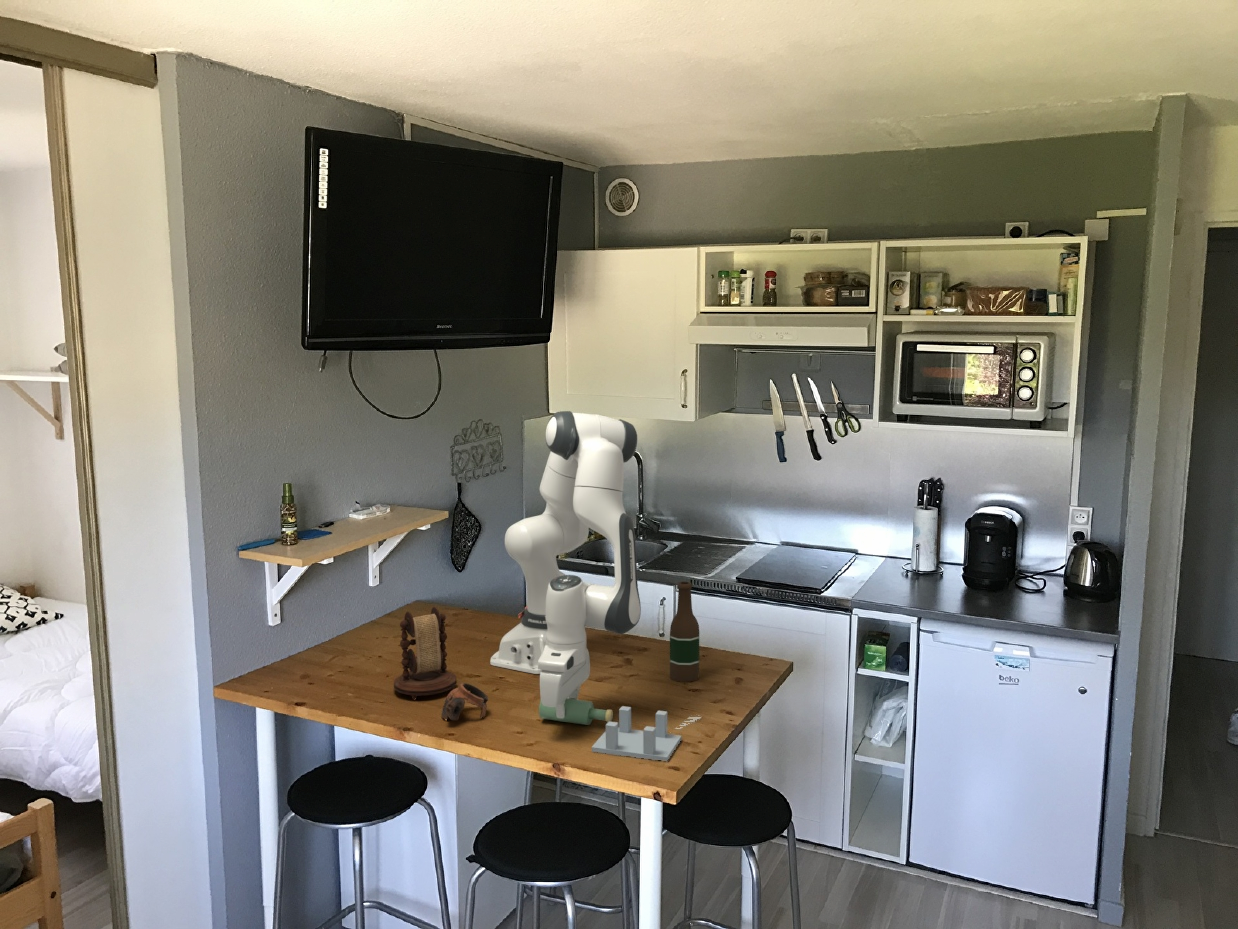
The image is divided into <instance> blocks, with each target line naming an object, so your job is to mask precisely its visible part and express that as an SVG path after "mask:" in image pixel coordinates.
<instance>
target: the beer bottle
mask: <svg viewBox="0 0 1238 929" xmlns="http://www.w3.org/2000/svg"><path fill="white" fill-rule="evenodd" d="M692 588H693V585H692V582H690V581H685V580H684V581H683V580H682V581H679V582H678V584H677V589H678V594H677V610H676V614H675V615H674V617H673V618H672V619H671V620H672V621H671V623H670V629H669V630H670V631H669V678H670V679H671V680H673V681H675V682H677V683H691V681H692V682H695V681H698V680H699V678H700V626H699V622H698V619H697V617H695V615H694V613H693V602H692Z"/></svg>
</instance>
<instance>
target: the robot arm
mask: <svg viewBox="0 0 1238 929" xmlns="http://www.w3.org/2000/svg"><path fill="white" fill-rule="evenodd" d="M545 429H546V430H545V444H546V446H547V448H548V449H549V450H550V452H549V455H548V458H547V460H546V465H545V468H544V472H543V474H542V478H541V480H540V485H539V493H540V495H541V497H542V498H543V500H544V501H545V502H546V504H545V505H546V506H545V509H544V511H543V513H542V514H539V515H535V516H530V517H525V518H523V519H521V520H519V521H517V522H515V523H513V524H512V525H510V526H509V527H508V528H507V530H506V532H505V535H504V547H505V550H506V552H507V553H508V555H509V557H510V558H512V559H513V560H514V561H515V562H517V563H518V565H519V566H520V568H521V570H522V573H523V575H524V580H525V586H526V587H525V588H526V604H527V606H525V607H524V609H523V610H521V611H520V613H518V619H520V622H519V623H518V624H517V625H516V626H514V627H513V628H511V629H510V630H509V631H508V632H507V633H505V634H504V635H503V637H502V638H501V640H500V643H499V649H498V651H496V652H495V653H493V655H492V656H491V657H490V661H489V663H490V665H491V666H494V667H498V668H503V669H507V670H514V671H519V672H524V673H527V674H528V673H529V674H535V675H539V693H540V694H539V696H540V701H541V702H542V704H543V705H544V706H547V707H555V709H556V716H557V718H562V719H563V718H564V717H565V716H566V708H565V707H564V703H565V700H566V699H567V698H568V699H576V700H578V698H579V697H578V696H579V694H580V688H581V686H582V685H583V684H584V682H585V681H586V680H588V679H589V677H590V673H591V672H590V671H591V664H590V654H589V649H588V648H587V632H586V628H585V627H587V628H591V629H597V630H604V631H607V632H611V633H614V634H618V635H624V634H626V633H627V632H630V631H631V630H632V629H633V628H635V627H636V625H637V624H638V623H639V621H640V618H641V612H642V610H641V609H642V607H641V606H642V605H641V600H640V599H641V598H640V593H639V588H638V586H639V584H638V568H637V566H638V565H637V564H638V563H637V549H636V548H637V547H636V535H635V534H636V533H635V532H636V531H635V526H634V523H633V519H632V517H631V516H630V515H628V514H627V513H626V510H625V507H624V502H623V494H624V493H623V492H624V481H625V467H624V464H625V463H627V462H629V461H630V460H631V459H632V458H633V456H634V455H635V453H636V450H637V446H638V434H637V430H636V427H635V426H634V424H632V423H630V422H628V421H626V420H623V419H616V418H613V417H610V416H605V415H601V414H597V413H595V414H592V413H585V412H584V413H582V412H572V411H570V410H567V411H566V410H562V411H561V410H560V411H556V412H555V413H554V414H552V415H551V417H550V418H549V420H548V423H547V425H546V428H545ZM590 529H591V530H592V531H594V532H596V533H598V534H599V535H602V536H603V537H604V538H605V539H607V541H608V543H610V544H611V547H612V550H613V564H614V567H613V569H614V586H611V585H609V586H608V585H601V584H595V583H591V582H590V583H589V582H586V581H585V582H584V581H583V579H582V578H581V577H580V576H577V575H574V574H565V573H564V572H562V571H560V569H559V566H558V562H557V556H558V555H559V556H560V555H563V554H567V553H570V552H573V551H574V550H576V549H577V548H579V547H581V546H582V545H584V544H585V543H586V541H587V539H588V537H589V533H590V532H589V531H590Z"/></svg>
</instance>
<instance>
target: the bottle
mask: <svg viewBox="0 0 1238 929" xmlns="http://www.w3.org/2000/svg"><path fill="white" fill-rule="evenodd" d="M568 698H569V697H568ZM568 698H567V699H566V700H565V703H564V707H565V708H566V716H565V717H564V718H563V719H562V718H557V716H556V709H555V707H547V706H544V705H543V704H542V702H541V700H540V701H539V705H538V716H539V718H540V719H542V720H550V721H558V722H563V723H564V722H565V723H570V724H571V723H573V724H576V725H577V724H578V725H585V726H586V725H587V726H589V725H590V726H591V723H592V721H593V720H597V721H605V722H607V723H608V722H613V721H612V720H613V715H614V714H613V713H614V712H613V710H612V709H601V708H600V709H599V708H595V705H594V702H593V701H589V700H583V699H582V700H581V699H577V700H576V699H568Z"/></svg>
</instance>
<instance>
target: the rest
mask: <svg viewBox="0 0 1238 929" xmlns="http://www.w3.org/2000/svg"><path fill="white" fill-rule="evenodd" d="M618 719H619V720H618V722H617V721H611V722H607V723H606V724H605V731H604V732H603V733H602V735H601V736H600V737H599V738H598V739H596V741H595V742H594V744H593V745H592V746H591V753H597V752H598V754H605V753H606V754H605V755H614V756H620V755H621V757H626V756H631V757H630V758H634V757H636V758H635V759H641V758H644V760H648V759H652V760H651V761H655V760H662V761H661V762H663V760H664V761H667V760H668V759H669V760H670V759H671V757H670V756H672V755H673V754H674V752H675V751H676V749H677V748H676V746H677V747H678V746H679V745H678V744H680V743H681V742H682V735H679V734H673V733H668V711H664V710H657V712H656V713H655V727H654V726H647V725H646V726H645V727H644V728H643V730H639V729H633V728H632V707H631V706H624V705H622V706H621V707H620V708H619V709H618ZM680 741H681V742H680ZM674 750H675V751H674ZM673 751H674V752H673ZM672 753H673V754H672ZM671 754H672V755H671ZM669 760H668V761H669ZM668 761H667V762H668Z"/></svg>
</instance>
